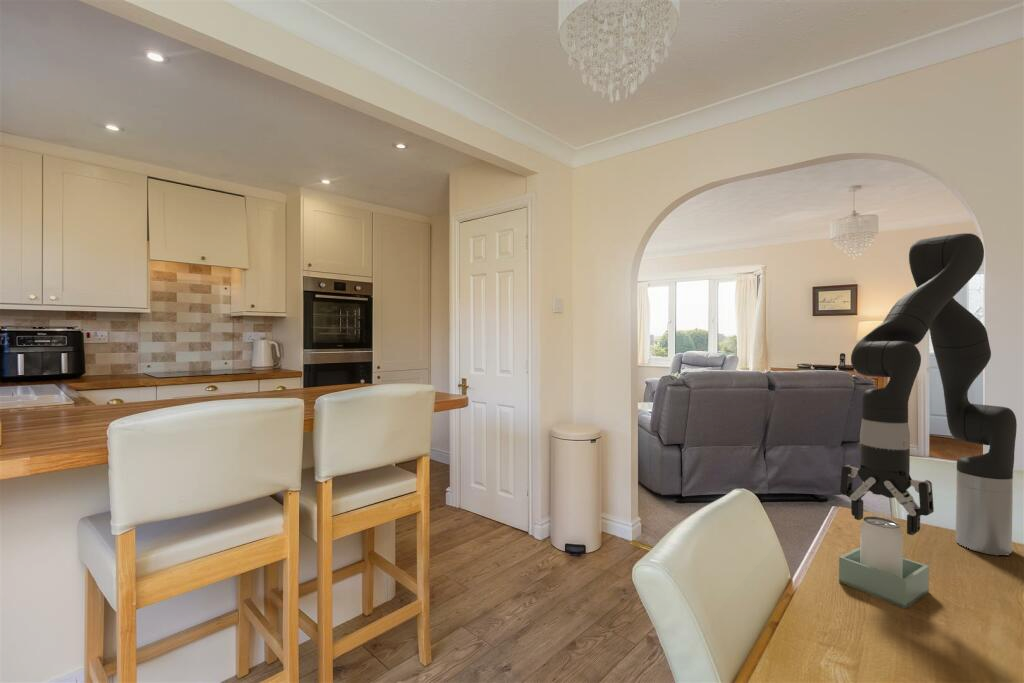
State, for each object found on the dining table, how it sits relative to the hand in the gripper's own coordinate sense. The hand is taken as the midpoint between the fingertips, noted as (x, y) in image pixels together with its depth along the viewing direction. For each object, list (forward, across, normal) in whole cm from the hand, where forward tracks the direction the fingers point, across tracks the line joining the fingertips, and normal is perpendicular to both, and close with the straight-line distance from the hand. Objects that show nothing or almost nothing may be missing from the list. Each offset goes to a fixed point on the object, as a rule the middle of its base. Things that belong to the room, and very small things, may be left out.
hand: (884, 526), depth 91 cm
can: (+11, 0, 0) cm, 11 cm away
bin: (+12, 0, 0) cm, 12 cm away
